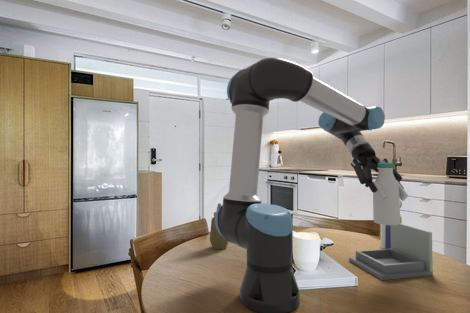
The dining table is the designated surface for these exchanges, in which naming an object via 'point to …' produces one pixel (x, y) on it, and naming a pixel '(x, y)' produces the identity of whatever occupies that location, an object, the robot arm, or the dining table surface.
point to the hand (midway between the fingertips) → (394, 198)
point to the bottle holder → (399, 255)
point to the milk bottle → (387, 197)
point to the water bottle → (387, 234)
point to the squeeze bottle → (216, 235)
